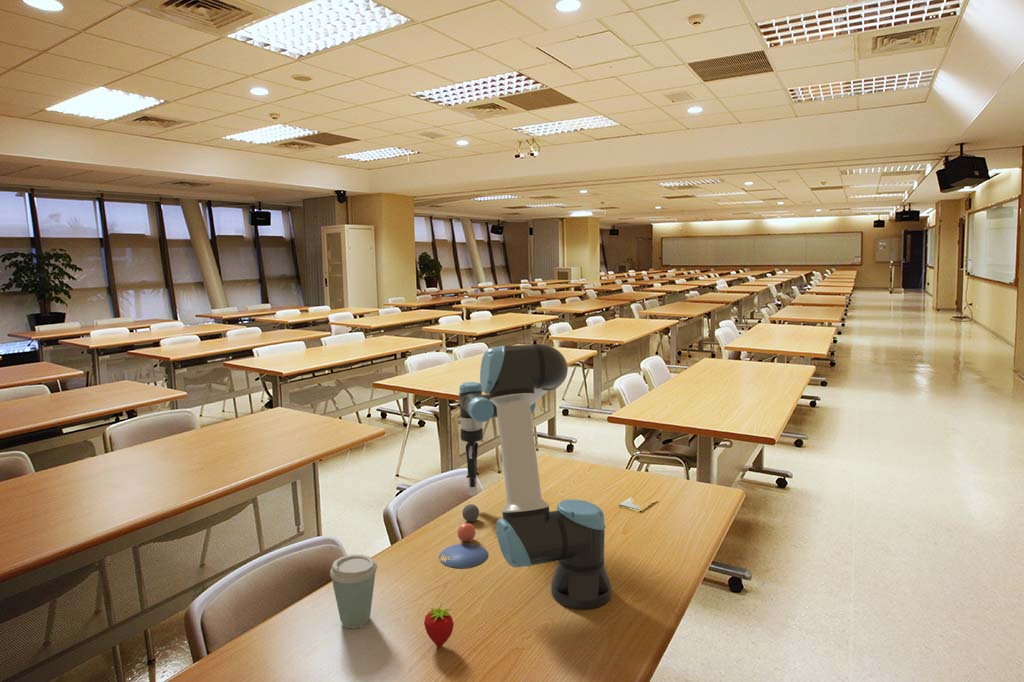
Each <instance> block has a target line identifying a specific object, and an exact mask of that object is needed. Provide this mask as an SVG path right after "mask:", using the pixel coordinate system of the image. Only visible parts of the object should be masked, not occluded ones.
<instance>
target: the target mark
mask: <svg viewBox="0 0 1024 682" xmlns="http://www.w3.org/2000/svg"><path fill="white" fill-rule="evenodd" d="M442 554H443V556H444V555H445V557H446V556H447V558H448V557H449V556H450V557H449V560H448V559H447V558H446V559H447V560H446V562H444V561H445V560H444V561H442V560H441V561H440V563H441V562H442V563H443V564H442V563H441V564H442V565H444V564H445V565H444V566H446V567H448V566H449V567H450V568H453V569H470V568H474V567H476V566H478V565H481V564H483V563H484V562H485V561H486V560H487V559H488V557H489V555H488V554H489V553H488V551H487V549H486V548H485V547H483V546H481V545H479V544H476V543H458V544H453V545H450V546H448V547H446V548H444V549H443V550H442V551H441V552H440V553H439V556H438V559H441V558H440V557H441V556H442ZM443 556H442V557H443ZM445 557H444V558H445ZM450 559H451V560H450ZM453 559H454V560H453ZM449 567H448V568H449Z"/></svg>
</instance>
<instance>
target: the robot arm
mask: <svg viewBox="0 0 1024 682" xmlns="http://www.w3.org/2000/svg"><path fill="white" fill-rule="evenodd" d="M568 369H569V368H568V363H567V360H566V358H565V357H564V355H563V354H562V353H561V351H559V350H558V349H557V348H555V347H553V346H550V345H548V344H543V343H535V344H519V345H518V344H515V345H499V346H495V347H490V348H488V349H486V350H485V352H484V353H483V356H482V359H481V363H480V373H479V382H477V381H467V382H462V383H461V384H460V385H459V392H458V395H459V413H460V414H459V415H460V416H459V418H458V422H460V428H461V429H459V430H460V440H461V441H463V442H465V444H466V445H465V453H466V455H465V456H466V461H467V462H466V463H467V464H466V466H467V475H466V476H465V477H466V478H467V479H468V496H478V477H477V476H479V474H480V473H479V472H478V452H479V451H478V450H479V449H478V448H479V443H478V442H480V441H482V440H483V438H484V432H483V431H484V429H483V427H484V423H485V422H487V421H490V420H491V418H497V422H498V432H499V441H500V450H501V451H500V452H501V459H502V466H503V476H504V485H505V493H506V494H505V495H506V505H505V506H504V507H503V508H502V510H501V512H502V517H501V518H499V519H498V520H497V521H496V524H495V527H496V529H495V530H496V536H497V537H496V538H497V541H498V545H499V549H500V551H501V554H502V557H503V558H504V560H505V562H506V564H508V566H510V567H512V568H516V569H517V568H523V567H524V568H525V567H527V568H529V567H531V566H535V565H541V564H548V563H552V562H557V563H556V567H555V570H554V574H553V576H552V579H551V584H550V585H551V588H550V590H551V591H550V593H551V596H552V598H553V600H555V601H556V602H557V603H559V604H560V605H563V606H565V607H567V608H571V609H576V610H577V609H579V610H591V609H596V608H599V607H601V606H604V605H605V604H606V603H608V602H609V601H610V599H611V597H612V584H611V581H610V578H609V575H608V572H607V568H606V566H605V530H606V525H605V524H606V523H605V514H604V511H603V510H602V509H601V507H599V506H598V505H596V504H594V503H593V502H590V501H586V500H582V499H574V498H573V499H571V498H570V499H564V500H562V501H559V502H558V503H557V506H556V510H553V511H550V505H549V503H547V502H546V501H545V500H544V499H543V498H542V491H541V484H540V483H541V482H540V474H539V467H538V458H537V452H536V451H537V450H536V444H535V443H536V442H535V435H534V427H533V420H532V419H533V418H532V414H533V413H534V412H535V409H536V402H537V401H538V400H539V399H541V398H542V397H543V396H544V395H545V394H546V393H548V392H549V391H554V390H557V389H558V388H559V387H560V386H562V384H563V383H564V382H565V380H566V378H567V377H568ZM483 393H484V394H483Z"/></svg>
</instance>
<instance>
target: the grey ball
mask: <svg viewBox="0 0 1024 682" xmlns="http://www.w3.org/2000/svg"><path fill="white" fill-rule="evenodd" d="M479 516H480V510H479V508H478V506H476V504H472V503H469V504H467V505H465V506H464V507H463V509H462V518H463V519H464V520H465V521H467V522H469V523H472V522H475V521H477V520H478V519H479Z"/></svg>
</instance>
